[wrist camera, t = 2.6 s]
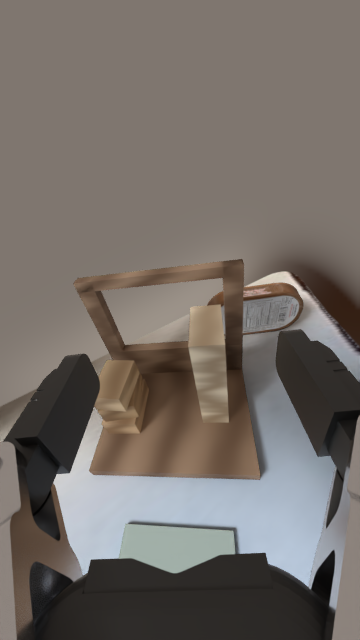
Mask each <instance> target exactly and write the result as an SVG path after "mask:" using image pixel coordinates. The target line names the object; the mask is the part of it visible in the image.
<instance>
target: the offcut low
mask: <svg viewBox="0 0 360 640" xmlns="http://www.w3.org/2000/svg"><path fill="white" fill-rule="evenodd" d="M148 392H149V388H148V386H147V384H146V381H145V379H142V387H141V400H140V414H139V417H135V418H129V419H122V420H115V421H109V422H105V421H104V419H103V421H102V425H103V427H104V428H105V429H106V430H107V432H108V433H109V434H140V433H141V428H142V423H143V418H144V412H145V407H146V402H147V397H148Z"/></svg>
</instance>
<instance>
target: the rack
mask: <svg viewBox="0 0 360 640" xmlns="http://www.w3.org/2000/svg"><path fill="white" fill-rule="evenodd" d="M215 278H223V294H224V315H225V337H226V339H225V352H226V373H227V393H228V413H229V422H228V423H203V419H202V414H201V409H200V404H199V399H198V394H197V389H196V384H195V378H194V373H193V368H192V363H191V358H190V353H189V348H188V343H189V341H182V342H167V343H151V344H136V345H125V344H124V342H123V340H122V337H121V335H120V333H119V331H118V329H117V326H116V324H115V322H114V319H113V317H112V315H111V313H110V310H109V309H108V306H107V304H106V301H105V299H104V297H103V295H102V293H101V290H110V289H119V288H130V287H139V286H149V285H158V284H168V283H178V282H187V281H197V280H206V279H215ZM74 286H75V288H76V290H77V292H78V293H79V296H80V298H81V300H82V301H83V303H84V305H85V307H86V309H87V311H88V313H89V315H90V317H91V319H92V321H93V322H94V324H95V326H96V328H97V330H98V332H99V334H100V336H101V338H102V340H103V342H104V343H105V346H106V347H107V349H108V351H109V353H110V355H111V357H112V359H113V360H131V361H135V364H136V366H138V368H139V371H140V373H141V375H142V379H145V381H146V384H147V386H148V388H149V392H148V397H147V402H146V407H145V412H144V418H143V423H142V428H141V433H140V434H109V433H108V432H107V430H106V429H105V428H104V427H103V430H102V433H101V436H100V439H99V442H98V445H97V448H96V451H95V454H94V457H93V460H92V463H91V466H90V469H89V471H90V472H91V473H92V474H93V475H119V476H153V477H187V478H221V479H255V480H260V471H259V465H258V459H257V453H256V447H255V442H254V436H253V430H252V424H251V419H250V413H249V407H248V401H247V395H246V390H245V384H244V378H243V372H242V342H243V289H244V263H243V260H242V259H239V260H230V261H221V262H213V263H205V264H195V265H187V266H178V267H170V268H161V269H152V270H145V271H135V272H127V273H119V274H109V275H101V276H93V277H83V278H78V279H77V280H76V281H75V282H74Z"/></svg>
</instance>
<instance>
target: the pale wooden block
mask: <svg viewBox="0 0 360 640" xmlns="http://www.w3.org/2000/svg"><path fill="white" fill-rule="evenodd" d="M188 348H189V353H190V358H191V363H192V368H193V373H194V378H195V384H196V389H197V394H198V399H199V404H200V409H201V414H202V419H203V423H228V422H229V413H228V393H227V373H226V352H225V339H224V330H223V322H222V313H221V304H220V305H209V306H197V307H191V309H190V325H189V343H188Z"/></svg>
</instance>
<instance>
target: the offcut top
mask: <svg viewBox="0 0 360 640" xmlns="http://www.w3.org/2000/svg"><path fill="white" fill-rule="evenodd" d="M139 374H140V373H139V371H138V368H137V366H136V364H135V361H131V360H107V361H106V363H105V365H104V367H103V369H102V371H101V373H100V375H99V377H98V378H99V381H100V391H99V394H98V397H97V400H96V402H95V405H94V406H95V408H96V409H97V410H111V411H124V412H126V411H127V408H128V405H129V402H130V399H131V396H132V394H133V391H134V388H135V385H136V382H137V379H138V377H139Z"/></svg>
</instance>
